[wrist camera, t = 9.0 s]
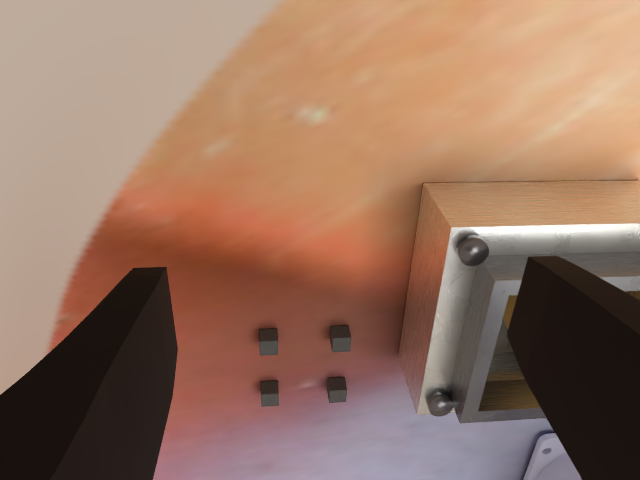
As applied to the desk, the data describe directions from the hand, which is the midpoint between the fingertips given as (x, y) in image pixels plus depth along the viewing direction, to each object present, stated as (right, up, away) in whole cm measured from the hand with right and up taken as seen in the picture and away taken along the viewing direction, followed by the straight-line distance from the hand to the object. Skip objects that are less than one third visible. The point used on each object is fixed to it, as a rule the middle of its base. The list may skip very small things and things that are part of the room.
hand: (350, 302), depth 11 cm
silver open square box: (+8, 0, +13) cm, 15 cm away
